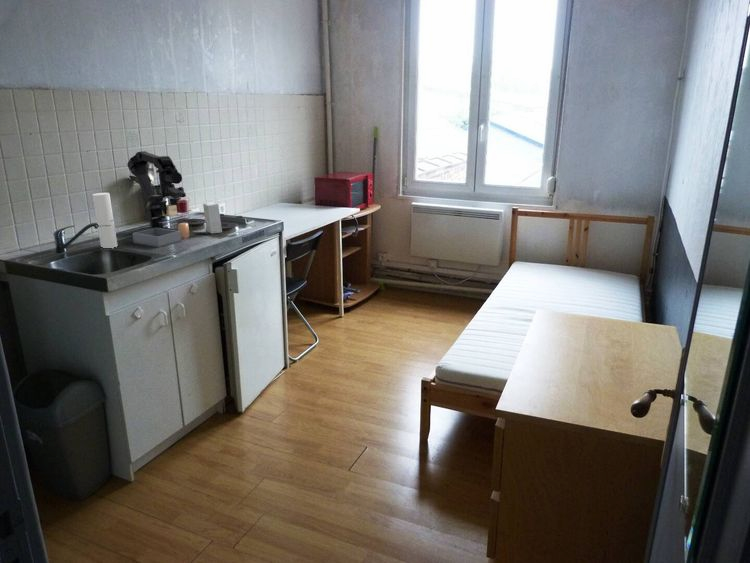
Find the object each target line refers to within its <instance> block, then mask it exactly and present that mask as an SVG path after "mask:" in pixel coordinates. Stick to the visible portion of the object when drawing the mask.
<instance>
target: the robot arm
mask: <svg viewBox="0 0 750 563" xmlns="http://www.w3.org/2000/svg"><path fill="white" fill-rule="evenodd" d="M148 164H152V165H153V167H155V168H156V169H157V170H156V171H155V172H156V173H157V174H158V179H159V184H158V186H157V187H158V188H159V187H160V188H159V189H160V192H159V193H158V194H156V193H155V191H154V190H153V187H152V185H151V182H150V180H149V178H148V175H147V170H148V168H147V166H148ZM127 168H128V170H129V172H130V174H132V175H133V176H135V178H136V179H137V181H138V184H139V186H140V189H141V191H142V193H143V196H144V198H145V201H146V208H145V209H146V212H145V215H144V218H145V221H148V222H149V223H148V224H149V229H152V228H162V229H164V224H163V223H164V222H163V220H164V219H166V216H163V214H162V211H163V212H164V214H167V211H166V205H167V202H168V200H166V199H169V203H170V205H176V207H177V205H178V202H179V201H180V200H182V198H186V196H187V195H186V192H185V189H184V187H182V186H179V187H176V186H175V184H178V185H179V184H180V183H181V182H182V181H183V176H182V174H181V173H180V172H179V171H178V169H177V167H176V165H175V164H174V162H173V160H172V158H171V157H170V156H169V155H162V156H161V155H156V154H153V153H151V152H148V151H145V150H144V151H137V152H135V155H133V156H132V157H130V158H129V160H128V162H127Z"/></svg>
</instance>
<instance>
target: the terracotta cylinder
mask: <svg viewBox="0 0 750 563" xmlns="http://www.w3.org/2000/svg"><path fill="white" fill-rule="evenodd" d="M177 229H178V230H177V231H180V232H181V240H184V239H185V240H186V239H189V238H191V236H190V235H191V234H190V228H189V223H188V222H181V223H180V222H179V223H177Z"/></svg>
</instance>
